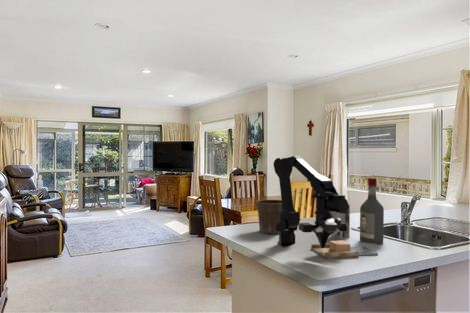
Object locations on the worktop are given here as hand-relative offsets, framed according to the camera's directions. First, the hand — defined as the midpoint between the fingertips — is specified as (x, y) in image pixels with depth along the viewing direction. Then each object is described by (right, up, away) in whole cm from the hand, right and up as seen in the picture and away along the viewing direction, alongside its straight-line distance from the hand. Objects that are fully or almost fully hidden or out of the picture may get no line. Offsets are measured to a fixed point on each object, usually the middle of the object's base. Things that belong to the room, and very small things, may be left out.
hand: (322, 248), depth 143 cm
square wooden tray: (+4, -3, +1) cm, 5 cm away
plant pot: (-17, -3, +43) cm, 46 cm away
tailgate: (+16, -3, +3) cm, 17 cm away
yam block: (+7, -2, +1) cm, 8 cm away
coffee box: (+16, -3, +30) cm, 34 cm away
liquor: (+29, -3, +22) cm, 36 cm away
